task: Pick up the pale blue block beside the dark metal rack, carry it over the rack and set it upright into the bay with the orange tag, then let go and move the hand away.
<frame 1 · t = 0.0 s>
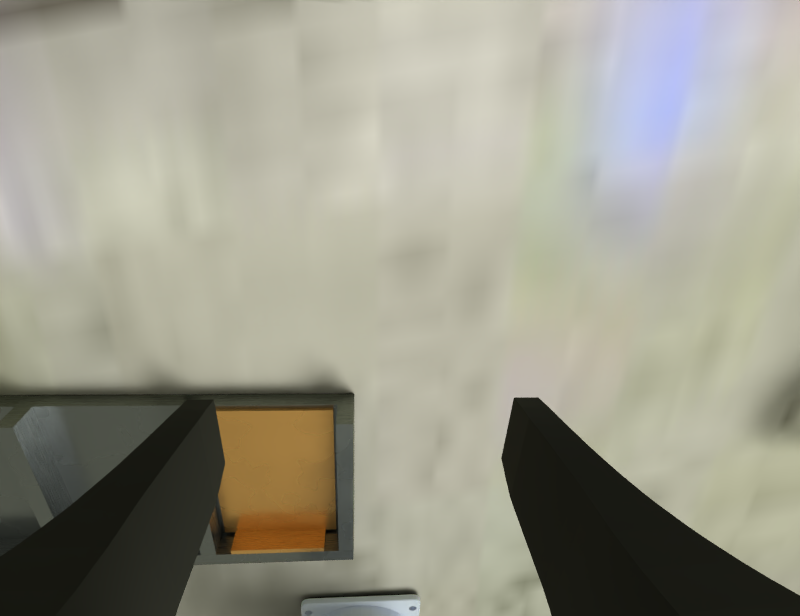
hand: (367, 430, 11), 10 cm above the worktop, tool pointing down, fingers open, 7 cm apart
rack: (137, 469, 25), on the worktop
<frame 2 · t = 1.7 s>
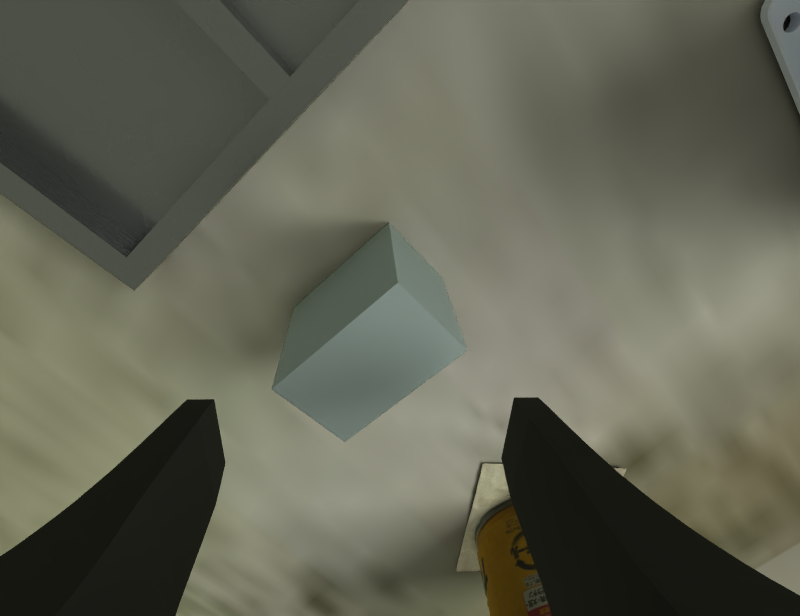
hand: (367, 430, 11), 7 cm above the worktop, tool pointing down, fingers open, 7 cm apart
pale blue block: (367, 292, 18), on the worktop
condiment: (532, 515, 25), on the worktop
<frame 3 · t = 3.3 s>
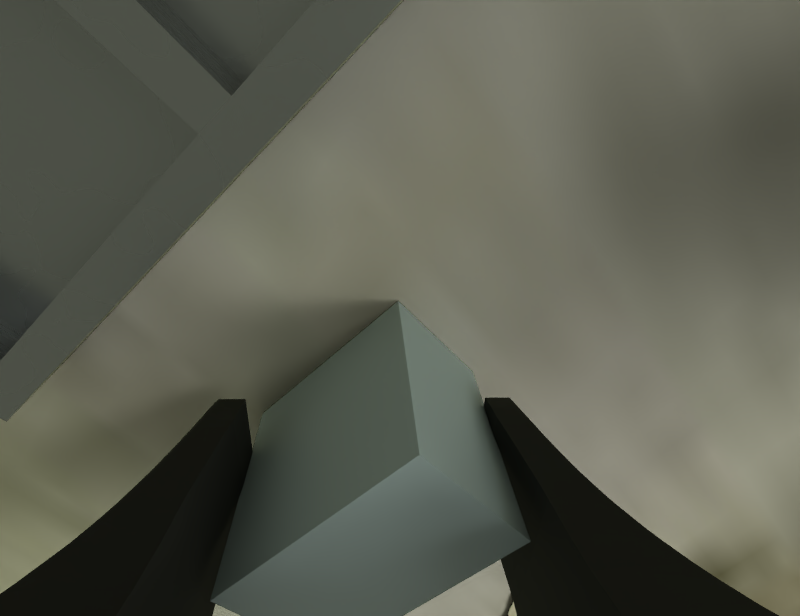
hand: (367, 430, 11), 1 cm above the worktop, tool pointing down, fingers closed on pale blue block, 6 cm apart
pale blue block: (366, 392, 13), on the worktop, touching gripper
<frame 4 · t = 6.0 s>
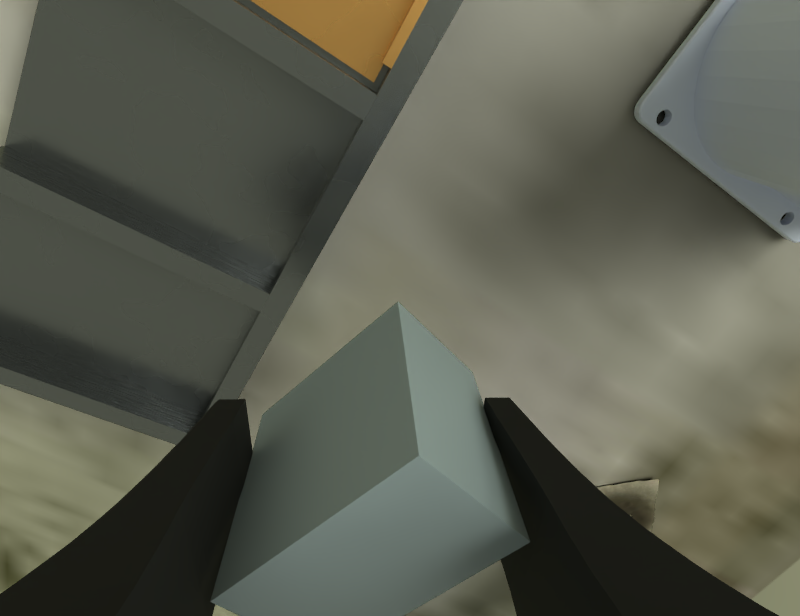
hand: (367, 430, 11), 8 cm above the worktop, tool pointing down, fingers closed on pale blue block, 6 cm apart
pale blue block: (366, 393, 13), point 7 cm above the worktop, touching gripper
rack: (205, 133, 16), on the worktop
condiment: (587, 531, 28), on the worktop
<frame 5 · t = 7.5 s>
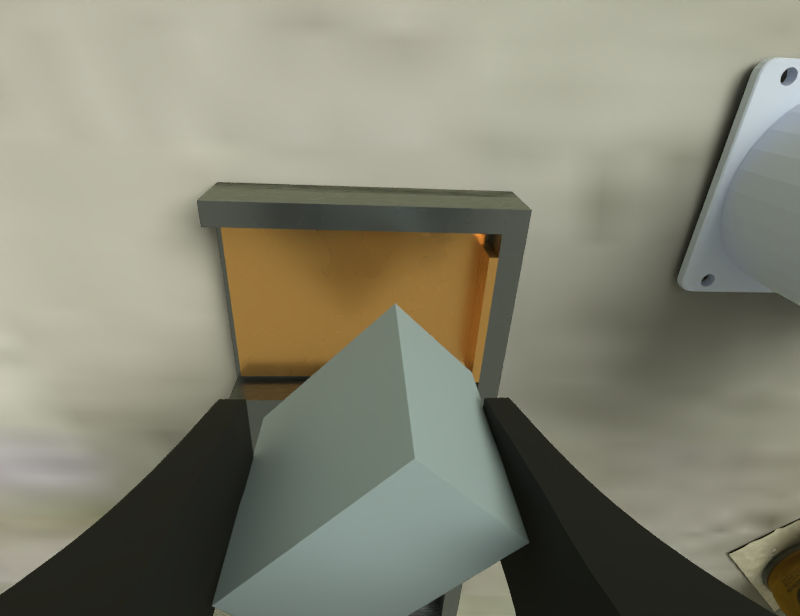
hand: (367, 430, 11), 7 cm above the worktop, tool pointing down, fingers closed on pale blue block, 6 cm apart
pale blue block: (366, 395, 13), point 6 cm above the worktop, touching gripper
rack: (364, 439, 21), on the worktop
when the fingers open (3 cm above the worktop, at t = 9.0 s): pale blue block stays where it is, resting on rack.
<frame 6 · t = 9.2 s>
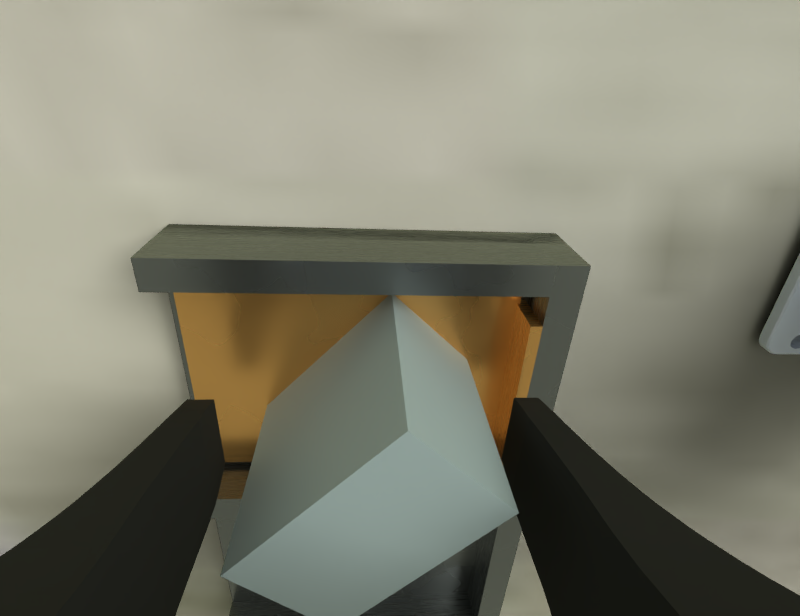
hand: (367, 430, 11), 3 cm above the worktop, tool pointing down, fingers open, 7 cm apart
pale blue block: (366, 382, 13), point 1 cm above the worktop, touching rack
rack: (363, 522, 18), on the worktop
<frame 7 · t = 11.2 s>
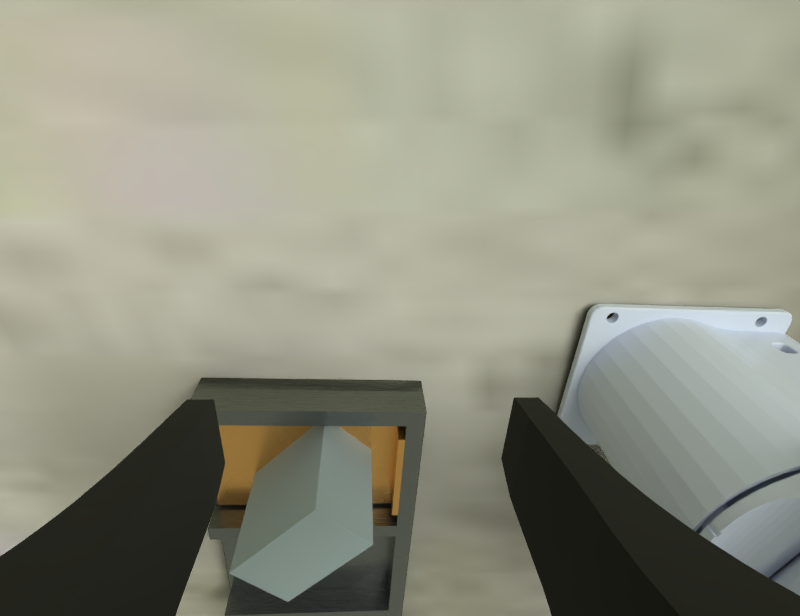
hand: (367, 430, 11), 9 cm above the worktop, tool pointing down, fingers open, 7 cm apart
pale blue block: (312, 461, 23), point 1 cm above the worktop, touching rack
rack: (317, 540, 27), on the worktop
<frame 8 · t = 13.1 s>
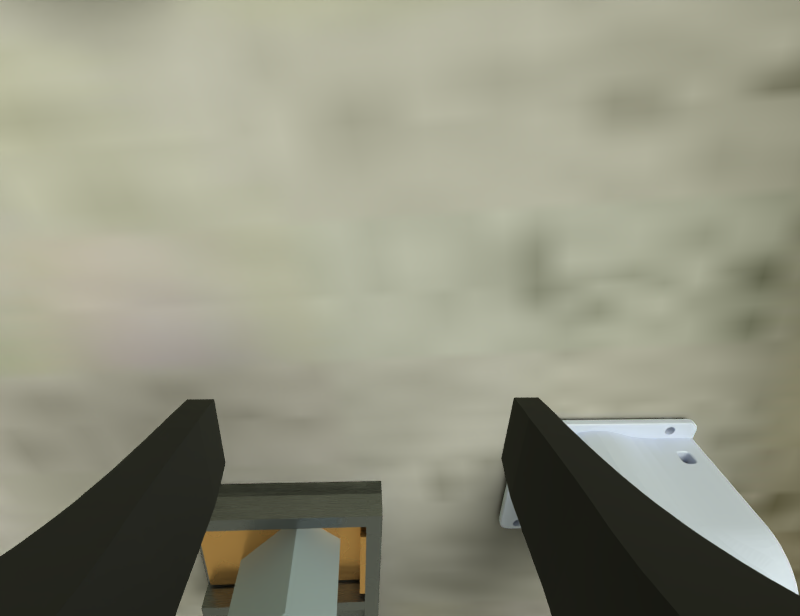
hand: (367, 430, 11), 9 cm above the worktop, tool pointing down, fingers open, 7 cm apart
pale blue block: (290, 549, 26), point 1 cm above the worktop, touching rack
rack: (299, 606, 31), on the worktop
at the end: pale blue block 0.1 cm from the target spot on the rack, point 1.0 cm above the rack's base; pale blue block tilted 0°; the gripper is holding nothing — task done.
